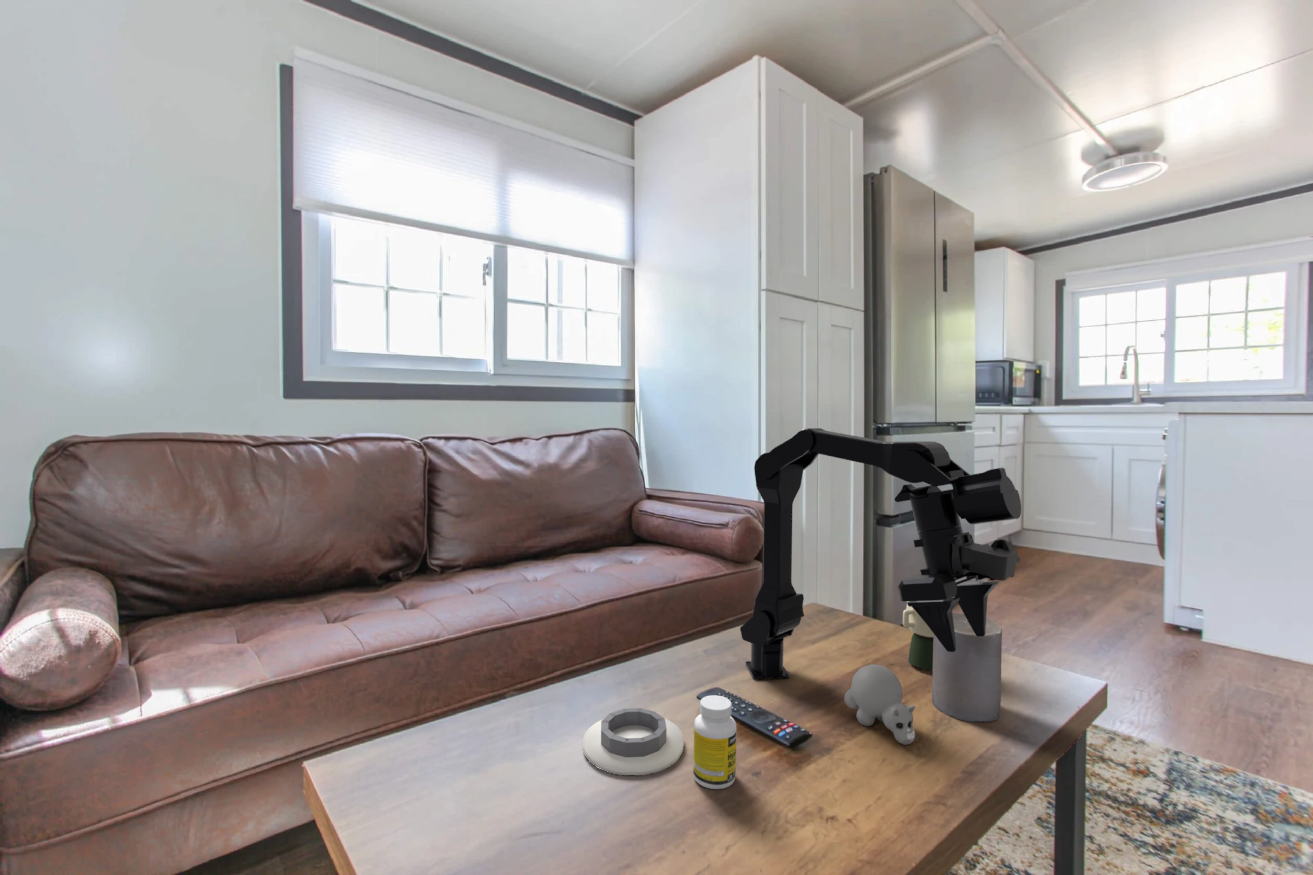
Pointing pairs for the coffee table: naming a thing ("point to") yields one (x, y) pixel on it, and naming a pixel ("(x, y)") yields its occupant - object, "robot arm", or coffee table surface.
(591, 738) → the socket collar
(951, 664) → the pillar candle
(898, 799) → the coffee table surface
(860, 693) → the chubby cartoon animal
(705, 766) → the supplement bottle
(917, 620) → the character mug
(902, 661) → the coffee table surface
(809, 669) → the coffee table surface
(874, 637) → the coffee table surface
